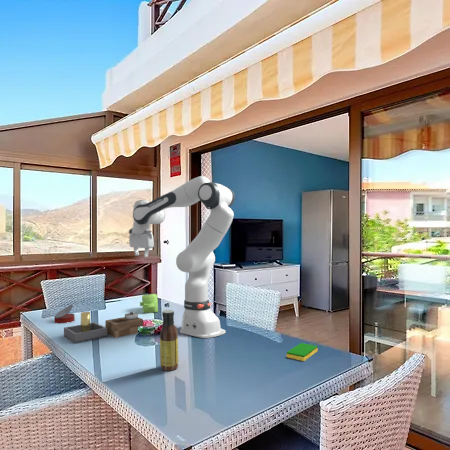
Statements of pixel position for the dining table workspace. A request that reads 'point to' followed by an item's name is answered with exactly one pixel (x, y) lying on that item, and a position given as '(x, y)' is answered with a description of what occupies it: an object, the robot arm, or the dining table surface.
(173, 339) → the sauce bottle
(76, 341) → the pin tray
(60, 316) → the canned food
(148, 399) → the dining table surface
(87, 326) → the pin
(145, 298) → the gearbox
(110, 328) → the brown wooden box
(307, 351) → the dish sponge
